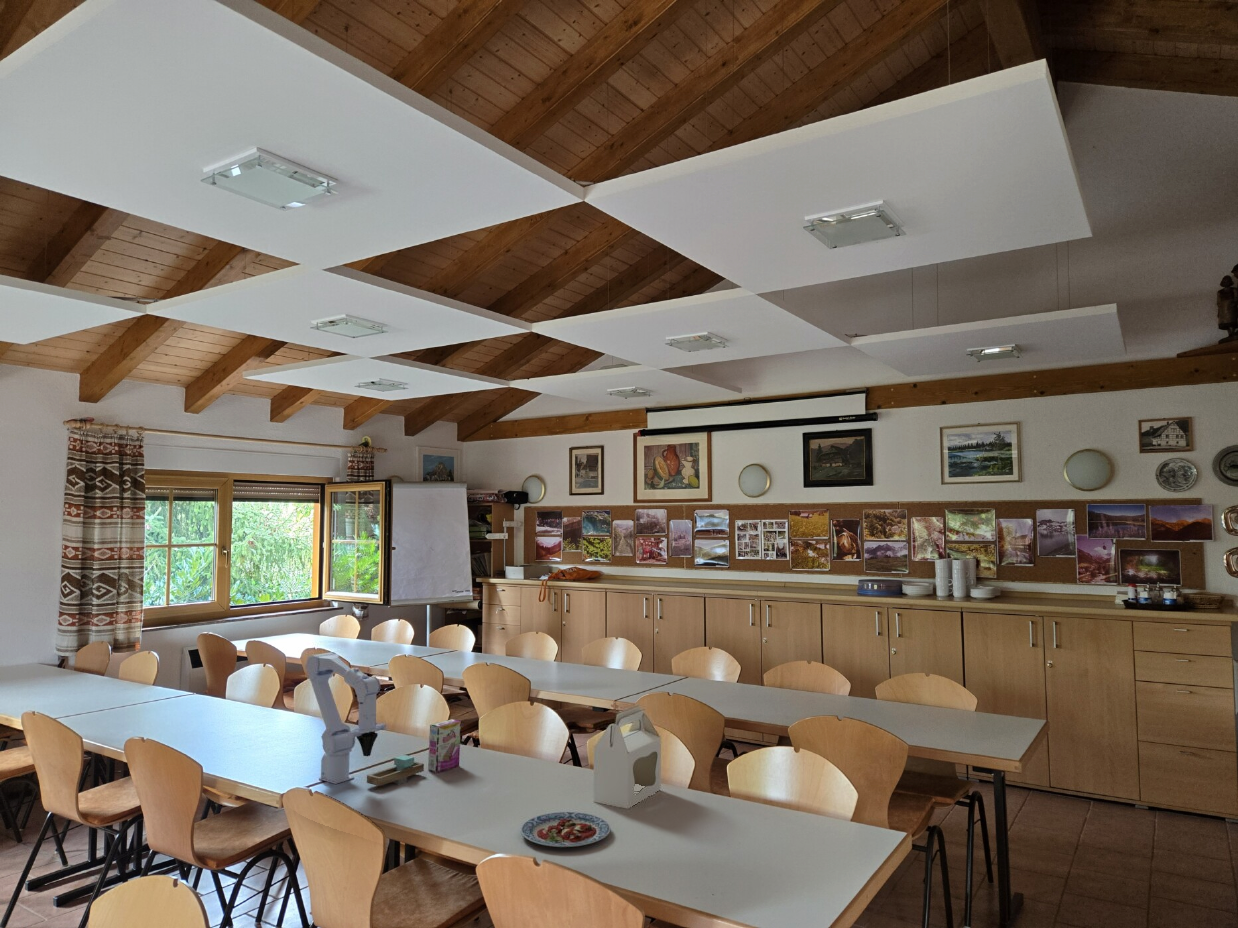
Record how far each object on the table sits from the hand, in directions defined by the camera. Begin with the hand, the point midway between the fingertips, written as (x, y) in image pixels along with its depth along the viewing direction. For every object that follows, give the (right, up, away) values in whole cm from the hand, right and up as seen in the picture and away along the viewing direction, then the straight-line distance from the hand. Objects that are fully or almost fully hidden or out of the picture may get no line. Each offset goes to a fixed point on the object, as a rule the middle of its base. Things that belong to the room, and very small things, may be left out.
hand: (366, 755), depth 272 cm
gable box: (+88, -11, -7) cm, 89 cm away
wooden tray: (+8, -11, +6) cm, 15 cm away
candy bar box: (+22, -12, +21) cm, 32 cm away
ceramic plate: (+70, -9, -41) cm, 81 cm away
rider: (+10, -9, +9) cm, 16 cm away
